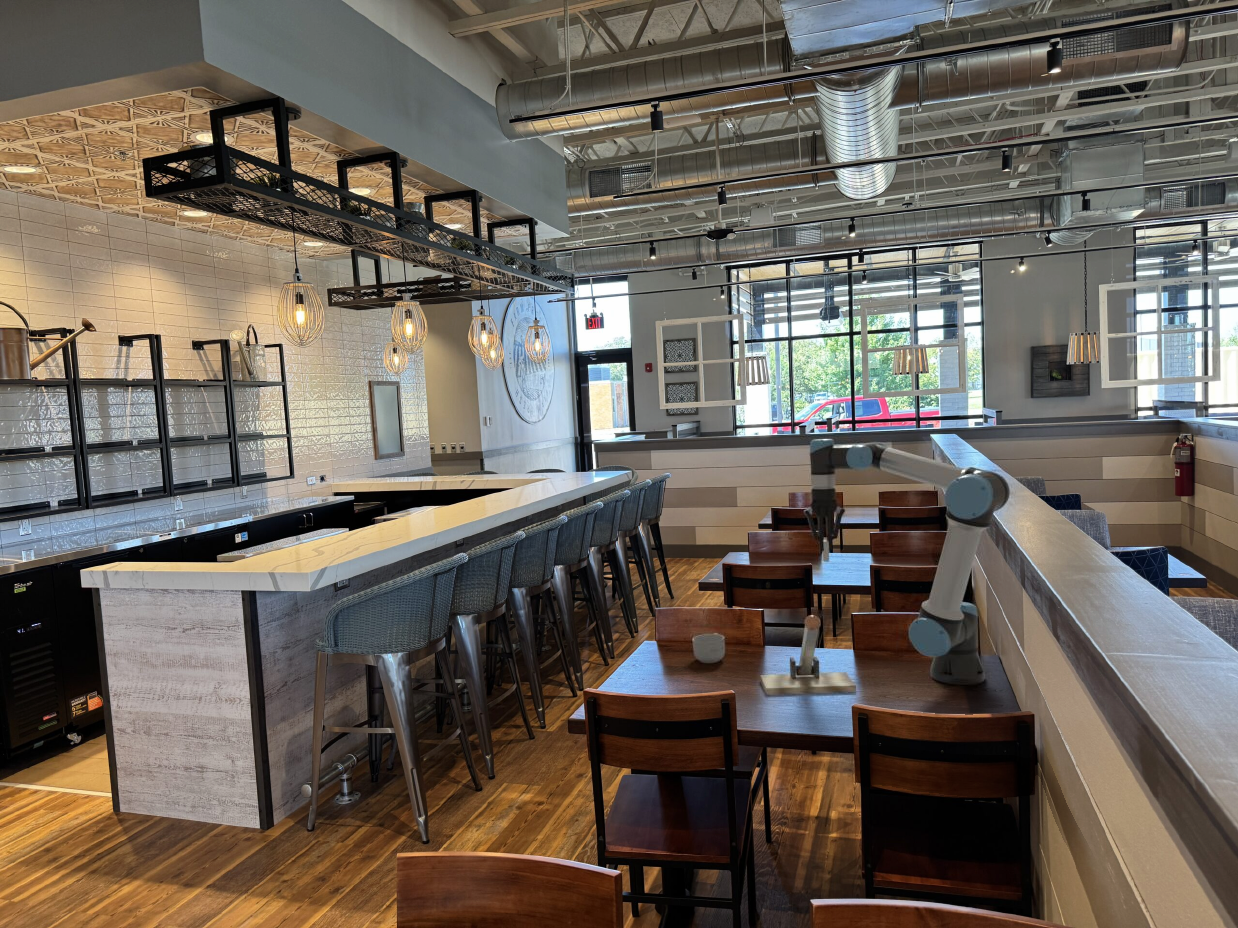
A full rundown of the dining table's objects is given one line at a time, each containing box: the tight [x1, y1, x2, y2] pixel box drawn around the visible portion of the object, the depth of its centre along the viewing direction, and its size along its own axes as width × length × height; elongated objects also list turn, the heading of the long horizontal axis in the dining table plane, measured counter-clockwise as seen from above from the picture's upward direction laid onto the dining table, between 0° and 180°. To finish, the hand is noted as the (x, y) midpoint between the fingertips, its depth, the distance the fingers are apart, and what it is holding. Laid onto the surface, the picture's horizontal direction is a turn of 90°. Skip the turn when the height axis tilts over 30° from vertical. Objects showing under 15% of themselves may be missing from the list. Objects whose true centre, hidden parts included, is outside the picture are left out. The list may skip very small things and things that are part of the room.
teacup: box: [691, 632, 726, 664], centre depth 273 cm, size 14×11×8 cm
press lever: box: [796, 614, 821, 676], centre depth 237 cm, size 5×4×27 cm
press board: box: [759, 656, 857, 696], centre depth 242 cm, size 26×12×8 cm, turn 88°
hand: (825, 560), depth 259 cm, fingers closed
